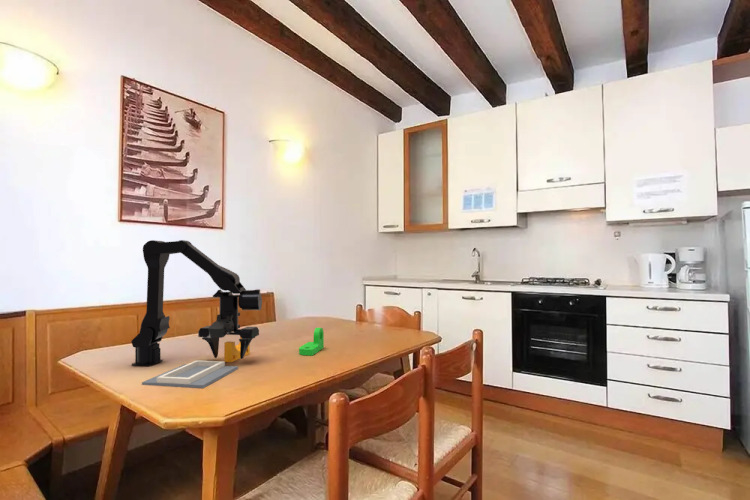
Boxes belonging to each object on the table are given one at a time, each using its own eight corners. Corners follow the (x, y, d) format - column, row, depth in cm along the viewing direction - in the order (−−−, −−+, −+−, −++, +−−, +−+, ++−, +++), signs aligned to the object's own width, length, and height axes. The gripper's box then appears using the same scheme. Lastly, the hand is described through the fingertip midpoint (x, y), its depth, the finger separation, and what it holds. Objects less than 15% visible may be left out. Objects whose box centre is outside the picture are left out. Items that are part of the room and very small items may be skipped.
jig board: (141, 385, 105) (142, 377, 105) (184, 366, 123) (184, 359, 123) (203, 388, 102) (203, 379, 102) (237, 368, 120) (237, 361, 120)
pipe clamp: (238, 353, 140) (238, 335, 140) (249, 353, 139) (249, 335, 140) (219, 362, 128) (219, 342, 128) (231, 362, 128) (231, 342, 128)
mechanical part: (308, 347, 149) (308, 326, 150) (323, 347, 148) (323, 326, 148) (296, 354, 138) (296, 332, 138) (312, 355, 136) (312, 332, 137)
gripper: (187, 313, 122) (187, 363, 121) (243, 314, 119) (243, 366, 118) (208, 309, 133) (208, 355, 132) (259, 309, 130) (259, 356, 129)
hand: (228, 358), depth 128 cm, fingers open, 9 cm apart
